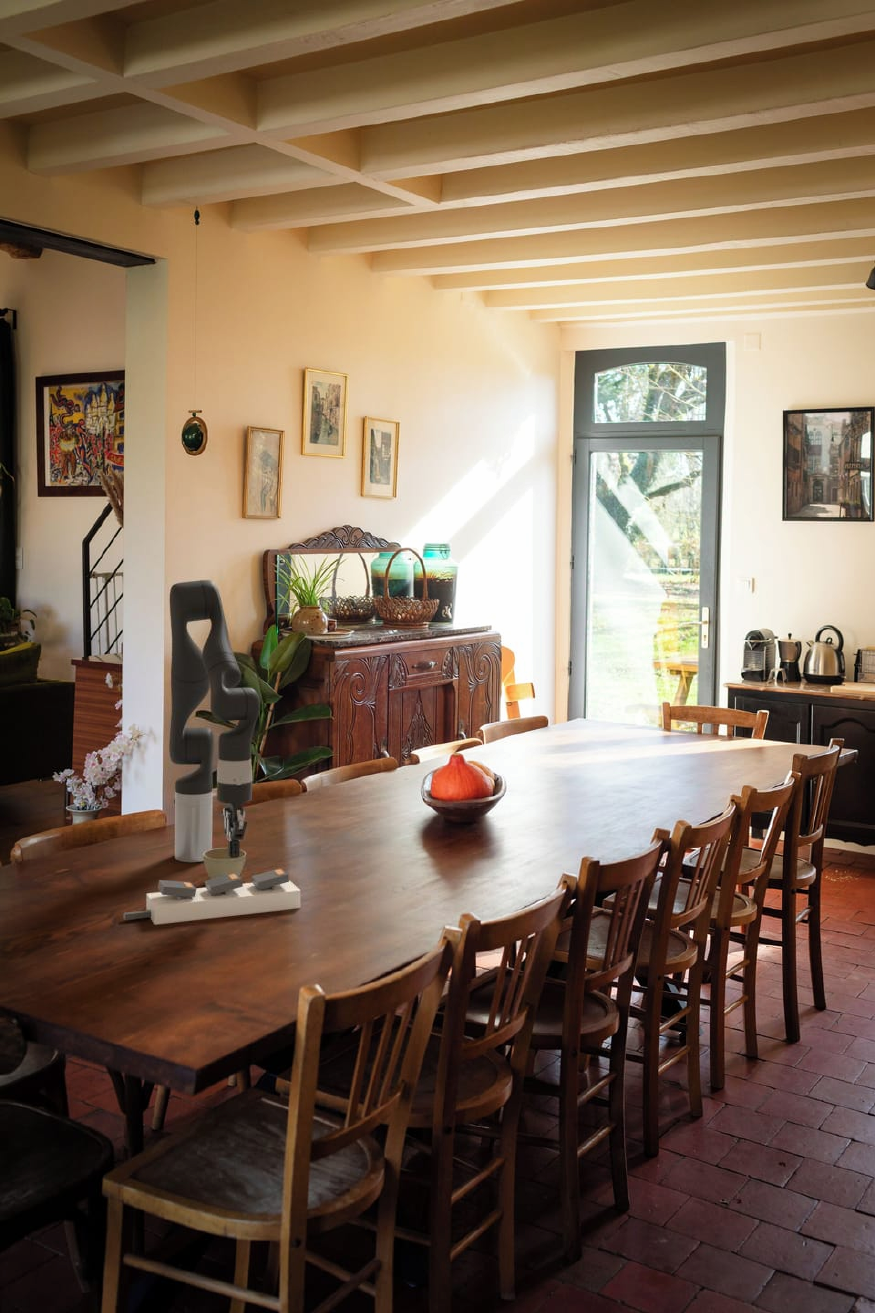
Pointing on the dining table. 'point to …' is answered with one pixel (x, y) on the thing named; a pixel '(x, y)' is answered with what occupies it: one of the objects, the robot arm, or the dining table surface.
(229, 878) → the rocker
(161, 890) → the rocker
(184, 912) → the power strip
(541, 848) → the dining table surface
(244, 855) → the flower pot
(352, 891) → the dining table surface
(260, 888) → the block
